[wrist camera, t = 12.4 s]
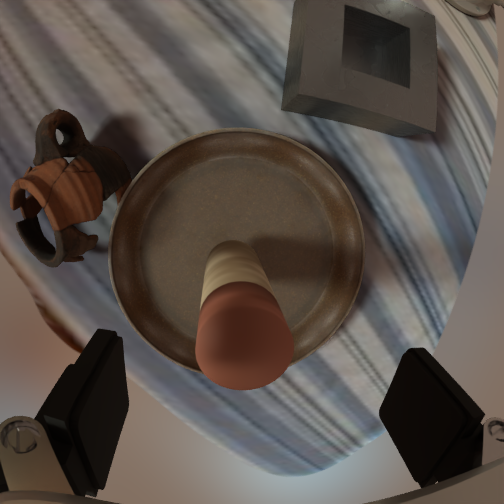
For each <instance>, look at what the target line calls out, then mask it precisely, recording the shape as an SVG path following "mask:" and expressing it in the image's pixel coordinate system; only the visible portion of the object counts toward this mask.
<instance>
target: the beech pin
mask: <svg viewBox="0 0 504 504" xmlns="http://www.w3.org/2000/svg"><path fill="white" fill-rule="evenodd" d="M293 353H294V341H293V337H292V334H291V331H290V329H289V327H288V325H287V322H286V320H285V318H284V315H283V313H282V311H281V308H280V306H279V304H278V302H277V299H276V297H275V295H274V292H273V290H272V288H271V286H270V283H269V281H268V279H267V276H266V274H265V272H264V270H263V267H262V265H261V263H260V260H259V258H258V256H257V254H256V252H255V251H254V249H253V248H252V247H251V246H249V245H248V244H246V243H244V242H242V241H238V240H228V241H224V242H221V243H219V244H218V245H216V246H215V247H214V248H213V249H212V250H211V252H210V253H209V255H208V258H207V261H206V268H205V275H204V283H203V290H202V298H201V306H200V313H199V322H198V330H197V338H196V347H195V354H196V360H197V362H198V365H199V367H200V369H201V370H202V372H203V373H204V374H205V375H206V376H207V377H208V378H209V379H210V380H211V381H213V382H215V383H216V384H218V385H220V386H223V387H226V388H229V389H234V390H252V389H256V388H260V387H263V386H265V385H268V384H270V383H271V382H273V381H275V380H276V379H277V378H279V377H280V376H281V375H282V374H283V373H284V372H285V371H286V369H287V368H288V366H289V365H290V362H291V360H292V357H293Z"/></svg>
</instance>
